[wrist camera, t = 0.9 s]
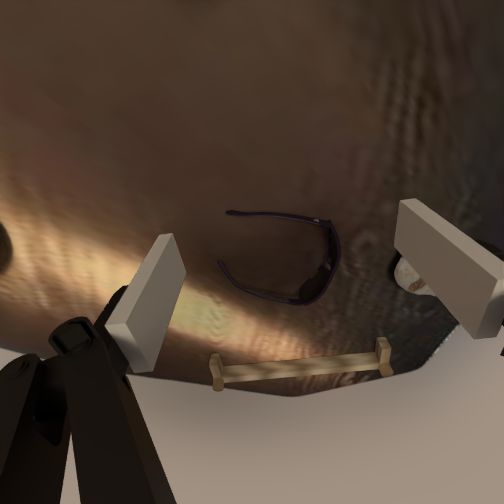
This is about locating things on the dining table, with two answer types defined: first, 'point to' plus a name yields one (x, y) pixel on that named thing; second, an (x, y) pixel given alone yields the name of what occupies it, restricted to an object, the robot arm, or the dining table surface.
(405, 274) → the stone
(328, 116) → the dining table surface
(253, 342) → the dining table surface
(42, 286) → the dining table surface
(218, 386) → the beige long bar
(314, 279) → the sunglasses
